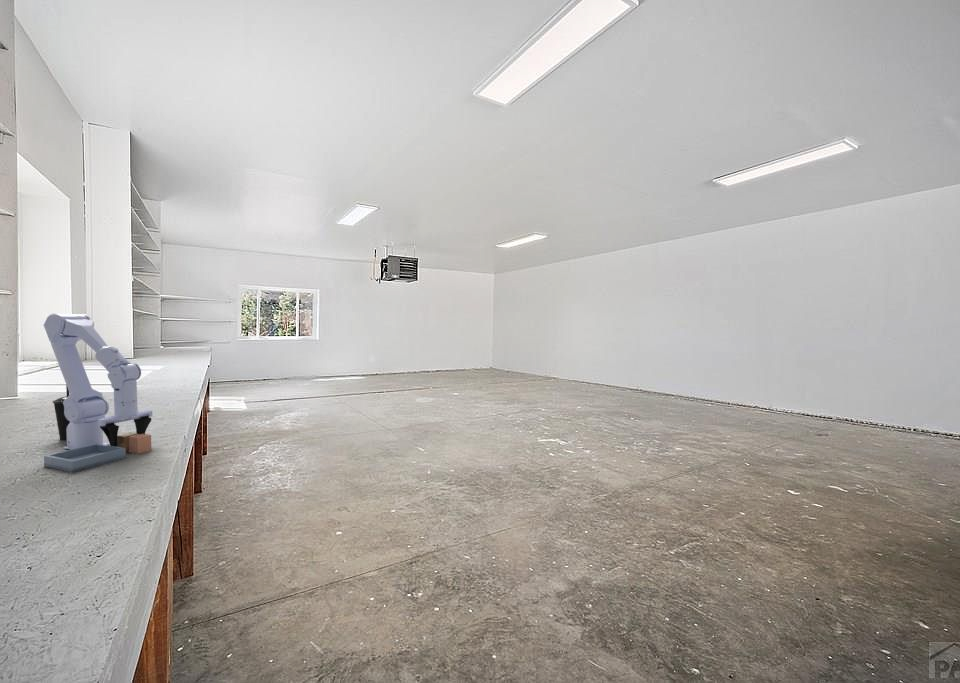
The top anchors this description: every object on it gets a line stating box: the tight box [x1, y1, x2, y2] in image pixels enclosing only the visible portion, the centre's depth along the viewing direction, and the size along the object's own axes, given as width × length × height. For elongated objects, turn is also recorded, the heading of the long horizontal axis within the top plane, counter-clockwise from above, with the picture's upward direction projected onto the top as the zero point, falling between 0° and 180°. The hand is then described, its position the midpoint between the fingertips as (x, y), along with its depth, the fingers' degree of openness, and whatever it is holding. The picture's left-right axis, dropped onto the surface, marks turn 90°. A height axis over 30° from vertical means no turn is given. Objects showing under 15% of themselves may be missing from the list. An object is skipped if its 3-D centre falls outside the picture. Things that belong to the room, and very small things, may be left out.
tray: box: [43, 444, 127, 473], centre depth 124 cm, size 13×13×3 cm
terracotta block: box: [128, 433, 152, 454], centre depth 135 cm, size 4×4×5 cm
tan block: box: [116, 431, 138, 453], centre depth 136 cm, size 4×4×5 cm
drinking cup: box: [52, 384, 80, 441], centre depth 147 cm, size 8×8×20 cm
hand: (127, 443), depth 136 cm, fingers open, 7 cm apart
